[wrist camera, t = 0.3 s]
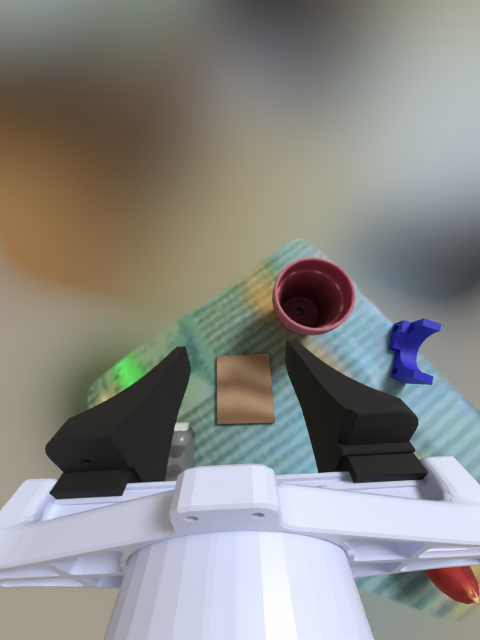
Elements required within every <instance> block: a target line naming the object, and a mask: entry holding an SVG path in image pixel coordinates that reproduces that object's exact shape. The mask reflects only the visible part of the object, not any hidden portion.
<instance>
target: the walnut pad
mask: <svg viewBox="0 0 480 640" xmlns="http://www.w3.org/2000/svg"><path fill="white" fill-rule="evenodd" d="M233 423H275V417H274V405H273V394H272V382H271V371H270V359H269V353H266V354H247V355H228V356H217V424H233Z"/></svg>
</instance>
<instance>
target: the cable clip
mask: <svg viewBox="0 0 480 640" xmlns="http://www.w3.org/2000/svg"><path fill="white" fill-rule="evenodd" d="M440 327H441V324H439V323H436V322H433V321H430V320H427V319H421V320H418V321H415V322H412V323H411V322H408V321H404V320H403V321H400V322H398V323H395V324H394V327H393V332H392V336H391V341H390V346H389V348H390V349H392V350H395V351H396V355H395V360H394V365H393V370H392V374H391V378H394V379H396V380H399V381H402V382H404V383H410V384H428V385H432V381H433V376H430V375H428V374H425V373H422V372H421V371H420V370H419V369H418V367H417V363H416V356H417V352H418V349H419V347H420V345H421V344H422V343H423V341H424V340H425V339H426V338H427V337H429V336H430V335H432V334H433V333H436V332H438V331H440Z"/></svg>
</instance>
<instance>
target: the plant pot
mask: <svg viewBox="0 0 480 640" xmlns="http://www.w3.org/2000/svg"><path fill="white" fill-rule="evenodd" d="M272 302H273V307H274V310H275V313H276V315H277V316H278V318H279V319H280V320H281V322H282V323H283V324H284V326H285V327H287V328H288V329H290V330H292V331H294V332H298V333H301V334H305V335H320V334H324V333H327V332H329V331H331V330H333V329H335V328H336V327H338V326H339V325H341V324H342V323H343V322H344V321H345V320H346V319H347V318H348V317H349V315H350V314H351V312H352V310H353V308H354V304H355V289H354V285H353V283H352V280H351V279H350V277H349V276H348V274H347V273H346V272H345V271H344V270H343V269H342V268H341V267H339V266H338V265H336V264H335V263H333V262H331V261H328V260H325V259H321V258H313V257H312V258H303V259H299V260H296V261H294V262H292V263H290V264H289V265H288V266H286V267H285V268H284V269H283V270H282V271H281V273H280V274H279V276H278V278H277V280H276V282H275V286H274V290H273V295H272ZM298 308H300V309H302V310H303V314H302V315H297V314H296V312H295V311H296V309H298Z"/></svg>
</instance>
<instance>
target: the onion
mask: <svg viewBox="0 0 480 640" xmlns="http://www.w3.org/2000/svg"><path fill="white" fill-rule="evenodd" d="M424 571H425V573H426V574H427V576H428V577H429V578H430V579H431V581H432V582H433V583H434V584H435V586H436V587H437V588H438V589H440V590H441V591H442V592H443V593H445V594H446V595H448V596H449V597H450V598H452V599H453V600H455V601H458V602H462V603H465V604H470V603H477V604H478V605H479V599H478V596H479V587H478V582H477V580H476V578H475V576H474V574H473V572H472V570H471V568H470V566H460V567H449V568H438V569H428V570H424Z"/></svg>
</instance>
